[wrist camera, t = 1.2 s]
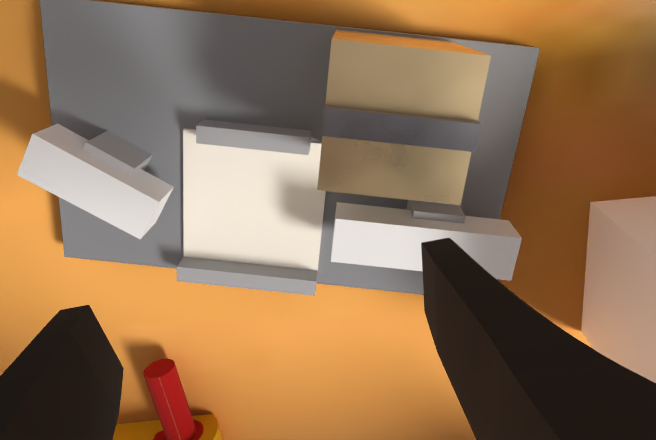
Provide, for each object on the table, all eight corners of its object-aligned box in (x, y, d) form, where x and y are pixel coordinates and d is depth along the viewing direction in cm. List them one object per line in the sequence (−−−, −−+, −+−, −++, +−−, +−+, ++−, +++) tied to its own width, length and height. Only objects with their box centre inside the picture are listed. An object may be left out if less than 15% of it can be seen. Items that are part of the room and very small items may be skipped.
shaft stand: (531, 46, 21) (568, 54, 18) (475, 289, 25) (496, 337, 22) (53, -5, 21) (-9, -7, 18) (75, 247, 25) (28, 288, 22)
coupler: (452, 41, 20) (495, 57, 14) (432, 154, 22) (464, 211, 16) (336, 29, 20) (331, 39, 14) (325, 143, 22) (316, 195, 16)
